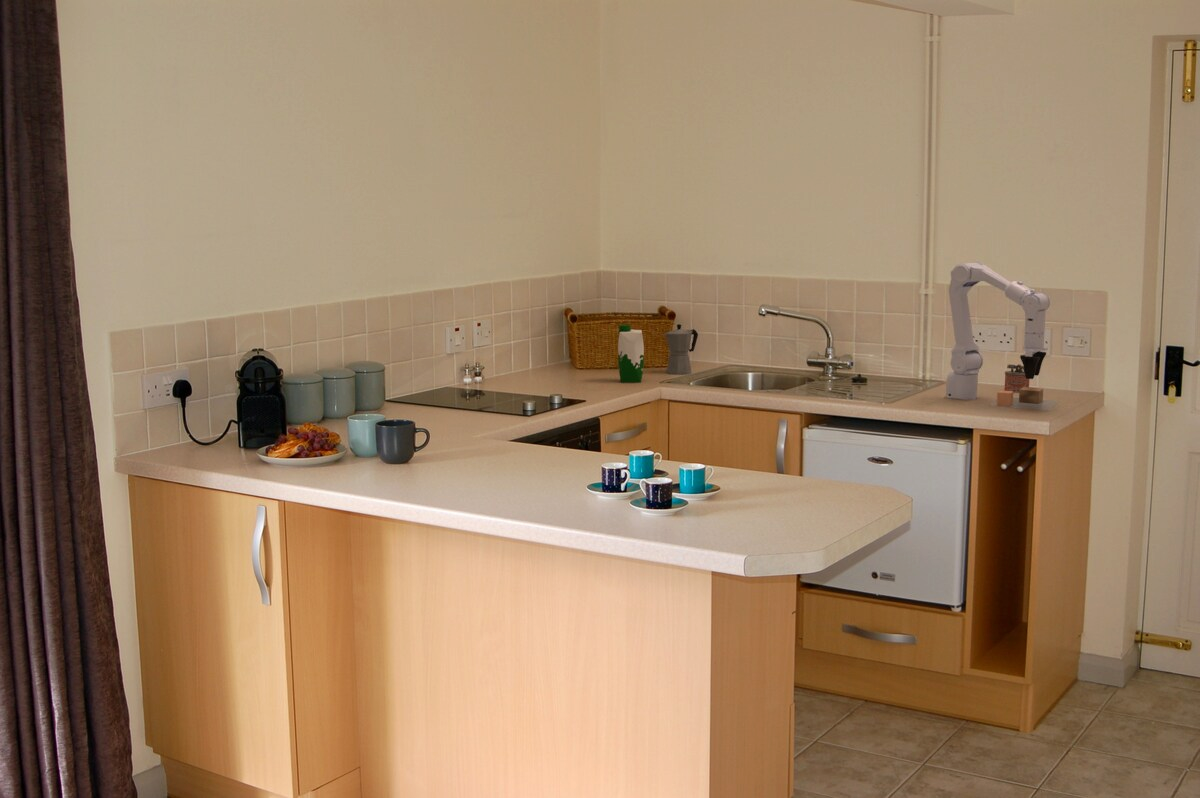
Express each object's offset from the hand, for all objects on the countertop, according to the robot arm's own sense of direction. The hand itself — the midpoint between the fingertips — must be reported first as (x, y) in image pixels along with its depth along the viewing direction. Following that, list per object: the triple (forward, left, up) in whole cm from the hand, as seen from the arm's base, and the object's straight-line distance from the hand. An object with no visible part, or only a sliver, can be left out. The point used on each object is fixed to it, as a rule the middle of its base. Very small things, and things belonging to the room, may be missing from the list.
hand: (1032, 377), depth 393 cm
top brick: (-8, +1, -9) cm, 12 cm away
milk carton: (-136, -7, -11) cm, 137 cm away
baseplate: (-3, +6, -10) cm, 12 cm away
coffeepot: (-129, +19, -11) cm, 131 cm away
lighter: (-10, +27, -11) cm, 31 cm away
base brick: (-2, +10, -9) cm, 14 cm away
